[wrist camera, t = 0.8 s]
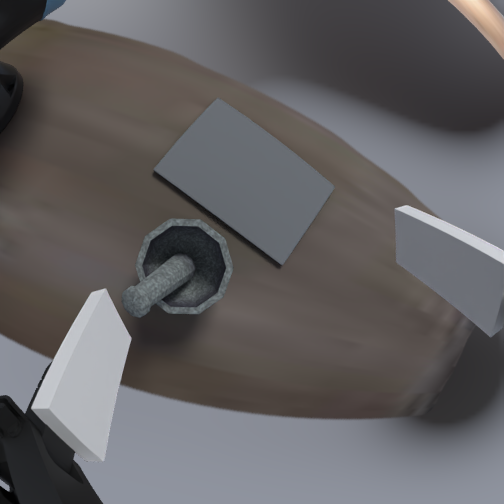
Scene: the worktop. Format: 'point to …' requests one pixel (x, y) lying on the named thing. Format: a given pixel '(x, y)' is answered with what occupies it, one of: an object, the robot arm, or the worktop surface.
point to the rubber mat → (246, 179)
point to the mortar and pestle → (180, 269)
